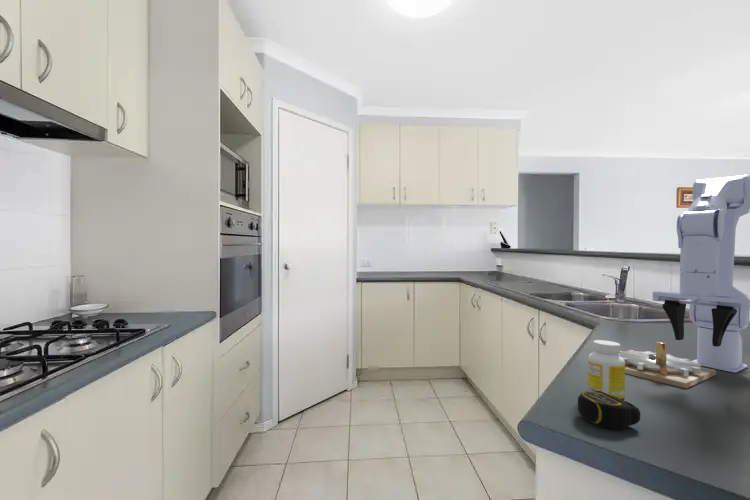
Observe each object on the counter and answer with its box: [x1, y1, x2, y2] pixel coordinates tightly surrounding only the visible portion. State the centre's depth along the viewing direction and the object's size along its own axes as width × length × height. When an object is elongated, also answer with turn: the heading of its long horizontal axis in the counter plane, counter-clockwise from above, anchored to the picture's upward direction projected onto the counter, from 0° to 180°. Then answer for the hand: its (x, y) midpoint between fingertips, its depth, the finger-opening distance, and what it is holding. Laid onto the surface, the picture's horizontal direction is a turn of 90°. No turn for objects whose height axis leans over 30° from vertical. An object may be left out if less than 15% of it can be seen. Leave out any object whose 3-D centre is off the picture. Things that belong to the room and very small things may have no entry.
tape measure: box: [577, 390, 641, 429], centre depth 55 cm, size 7×7×4 cm
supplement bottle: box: [587, 339, 626, 401], centre depth 64 cm, size 5×5×10 cm
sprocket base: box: [625, 365, 717, 390], centre depth 82 cm, size 17×16×1 cm
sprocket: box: [619, 341, 702, 376], centre depth 82 cm, size 15×15×6 cm
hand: (697, 342), depth 72 cm, fingers open, 5 cm apart
